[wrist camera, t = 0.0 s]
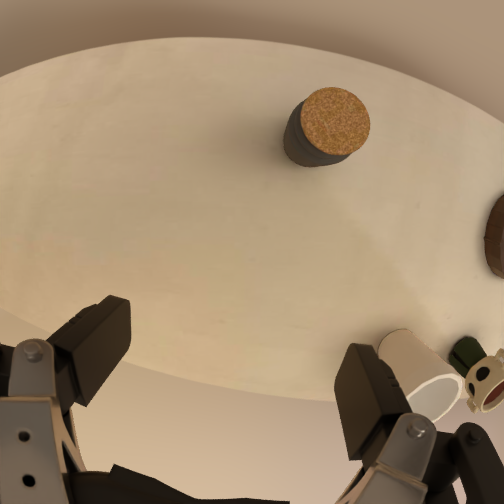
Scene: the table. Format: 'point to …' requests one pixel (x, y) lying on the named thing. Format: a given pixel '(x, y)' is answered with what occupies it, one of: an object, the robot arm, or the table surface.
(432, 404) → the foam cup
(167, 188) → the table surface
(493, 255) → the stand
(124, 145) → the table surface
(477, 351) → the character mug
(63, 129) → the table surface
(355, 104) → the bottle
